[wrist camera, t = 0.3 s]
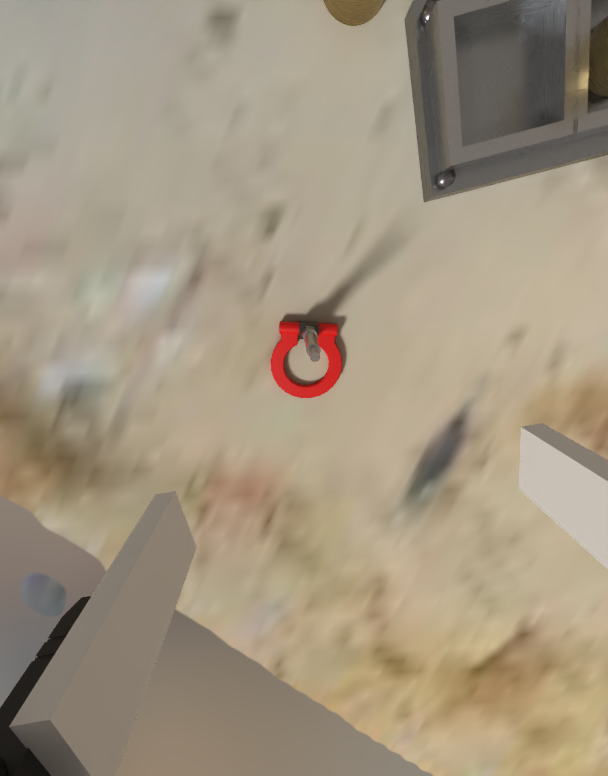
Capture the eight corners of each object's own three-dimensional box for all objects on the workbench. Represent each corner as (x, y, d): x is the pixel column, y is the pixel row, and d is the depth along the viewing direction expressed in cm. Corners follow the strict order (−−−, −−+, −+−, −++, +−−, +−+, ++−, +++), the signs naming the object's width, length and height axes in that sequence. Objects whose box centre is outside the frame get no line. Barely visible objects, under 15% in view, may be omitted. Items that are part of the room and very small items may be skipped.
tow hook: (337, 395, 40) (344, 322, 37) (355, 451, 28) (369, 349, 25) (270, 393, 40) (272, 318, 37) (261, 448, 28) (261, 344, 25)
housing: (404, 19, 29) (479, -153, 17) (673, -57, 28) (937, -290, 17) (423, 202, 34) (492, 160, 22) (654, 142, 33) (849, 67, 21)
